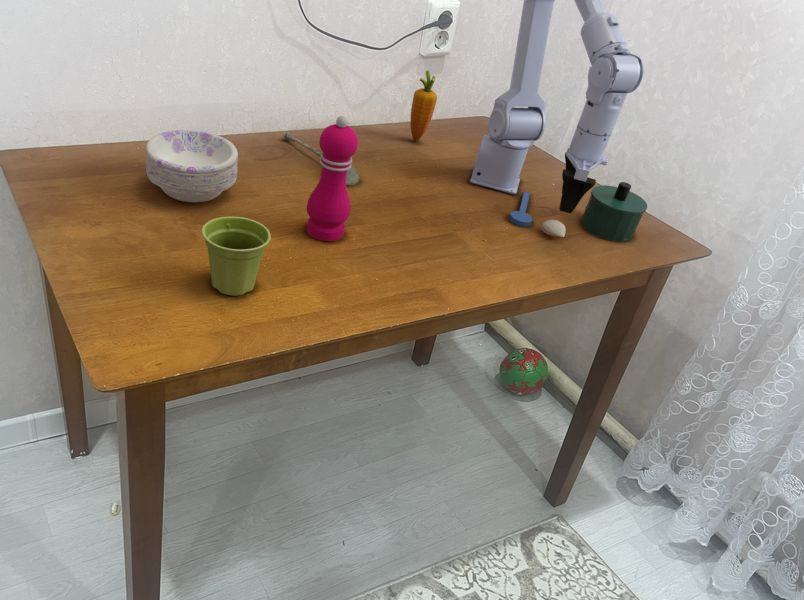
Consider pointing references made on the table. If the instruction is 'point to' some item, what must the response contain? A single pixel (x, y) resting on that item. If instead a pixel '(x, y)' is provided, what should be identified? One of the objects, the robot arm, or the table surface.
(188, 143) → the paper bowls
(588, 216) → the saucepan
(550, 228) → the cream teardrop shape
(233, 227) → the plant pot
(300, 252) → the table surface
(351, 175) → the soupspoon
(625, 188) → the saucepan lid
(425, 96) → the carrot
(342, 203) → the pepper mill
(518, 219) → the blue spoon
